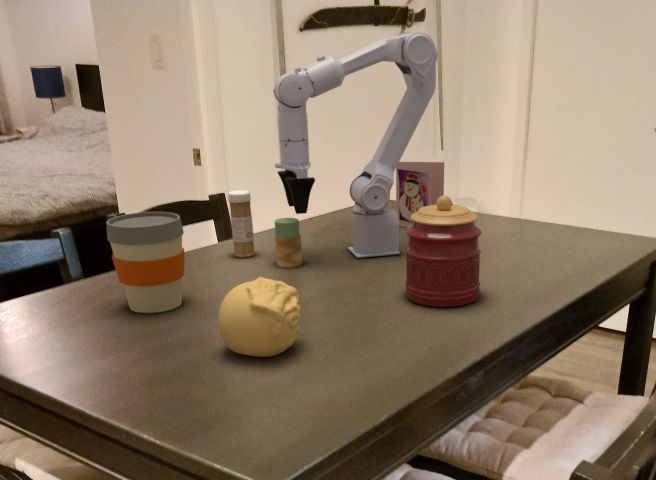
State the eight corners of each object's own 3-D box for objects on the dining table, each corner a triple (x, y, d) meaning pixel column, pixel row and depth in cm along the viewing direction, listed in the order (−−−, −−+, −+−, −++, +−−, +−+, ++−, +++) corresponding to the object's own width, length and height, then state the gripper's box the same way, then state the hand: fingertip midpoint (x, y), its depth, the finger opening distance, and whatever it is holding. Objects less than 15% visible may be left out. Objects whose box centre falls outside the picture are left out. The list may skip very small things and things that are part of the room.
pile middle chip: (293, 245, 158) (292, 230, 157) (306, 250, 154) (305, 235, 153) (271, 249, 155) (270, 234, 154) (283, 254, 151) (282, 239, 150)
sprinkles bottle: (248, 251, 166) (242, 188, 160) (259, 255, 162) (254, 191, 157) (229, 255, 163) (223, 191, 157) (240, 259, 160) (234, 194, 154)
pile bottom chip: (299, 259, 159) (299, 245, 157) (304, 266, 154) (303, 251, 153) (275, 261, 157) (274, 247, 156) (279, 268, 153) (278, 253, 152)
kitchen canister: (449, 313, 126) (452, 206, 119) (390, 298, 134) (389, 197, 127) (493, 294, 135) (498, 193, 127) (435, 281, 143) (437, 185, 135)
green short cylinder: (297, 231, 156) (296, 216, 155) (301, 236, 152) (300, 221, 150) (273, 233, 155) (272, 218, 154) (277, 238, 151) (276, 223, 149)
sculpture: (291, 366, 107) (286, 293, 103) (210, 362, 109) (202, 290, 105) (311, 337, 118) (307, 269, 113) (236, 334, 120) (230, 267, 115)
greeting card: (393, 225, 185) (393, 162, 179) (414, 220, 190) (415, 158, 183) (428, 233, 177) (429, 167, 171) (449, 227, 182) (451, 163, 176)
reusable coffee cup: (103, 312, 131) (88, 225, 124) (147, 290, 141) (135, 209, 135) (164, 319, 126) (152, 230, 120) (205, 297, 137) (196, 213, 131)
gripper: (267, 136, 154) (272, 204, 160) (279, 145, 142) (284, 218, 147) (301, 135, 156) (305, 201, 162) (317, 143, 143) (320, 215, 149)
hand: (297, 209), depth 155 cm, fingers open, 7 cm apart
